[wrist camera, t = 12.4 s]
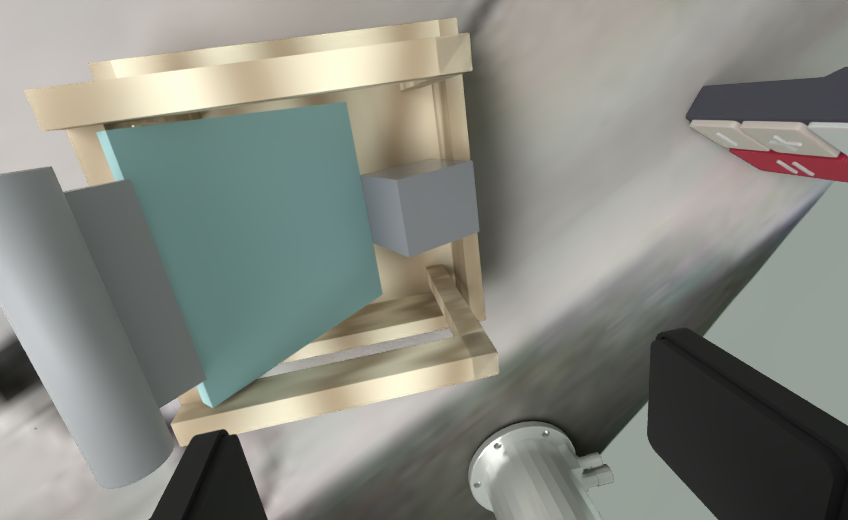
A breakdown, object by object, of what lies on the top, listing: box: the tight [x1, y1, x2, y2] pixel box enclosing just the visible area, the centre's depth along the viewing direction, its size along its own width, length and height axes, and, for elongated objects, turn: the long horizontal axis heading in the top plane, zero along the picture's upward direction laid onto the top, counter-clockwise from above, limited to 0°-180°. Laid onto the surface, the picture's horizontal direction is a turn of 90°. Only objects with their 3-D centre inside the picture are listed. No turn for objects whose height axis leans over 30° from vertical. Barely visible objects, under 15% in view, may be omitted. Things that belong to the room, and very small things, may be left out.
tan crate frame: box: [24, 18, 499, 447], centre depth 28 cm, size 22×22×16 cm
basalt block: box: [360, 159, 480, 258], centre depth 29 cm, size 5×5×6 cm
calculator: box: [686, 67, 848, 182], centre depth 32 cm, size 11×4×15 cm, turn 65°
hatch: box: [0, 102, 383, 489], centre depth 22 cm, size 19×14×4 cm
